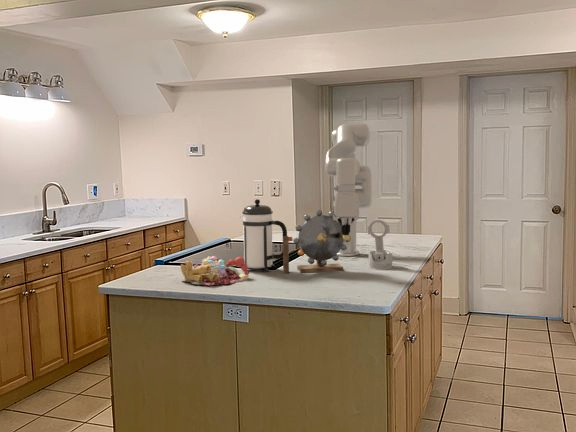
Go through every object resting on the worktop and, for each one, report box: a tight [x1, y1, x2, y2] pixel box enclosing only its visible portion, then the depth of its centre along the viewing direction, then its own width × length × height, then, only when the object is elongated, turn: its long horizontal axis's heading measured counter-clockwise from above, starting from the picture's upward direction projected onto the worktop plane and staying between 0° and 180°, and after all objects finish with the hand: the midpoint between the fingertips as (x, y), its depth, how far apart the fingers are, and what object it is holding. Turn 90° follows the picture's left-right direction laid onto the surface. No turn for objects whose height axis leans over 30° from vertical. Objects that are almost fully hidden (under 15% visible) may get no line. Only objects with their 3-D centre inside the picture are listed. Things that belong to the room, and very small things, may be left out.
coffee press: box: [239, 198, 288, 273], centre depth 252 cm, size 17×16×30 cm
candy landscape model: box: [180, 255, 250, 286], centre depth 235 cm, size 25×24×9 cm
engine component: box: [366, 218, 393, 270], centre depth 255 cm, size 11×20×10 cm
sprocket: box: [292, 209, 351, 266], centre depth 243 cm, size 23×11×23 cm, turn 102°
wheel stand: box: [282, 235, 344, 274], centre depth 250 cm, size 25×8×15 cm, turn 101°
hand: (345, 234), depth 242 cm, fingers closed
